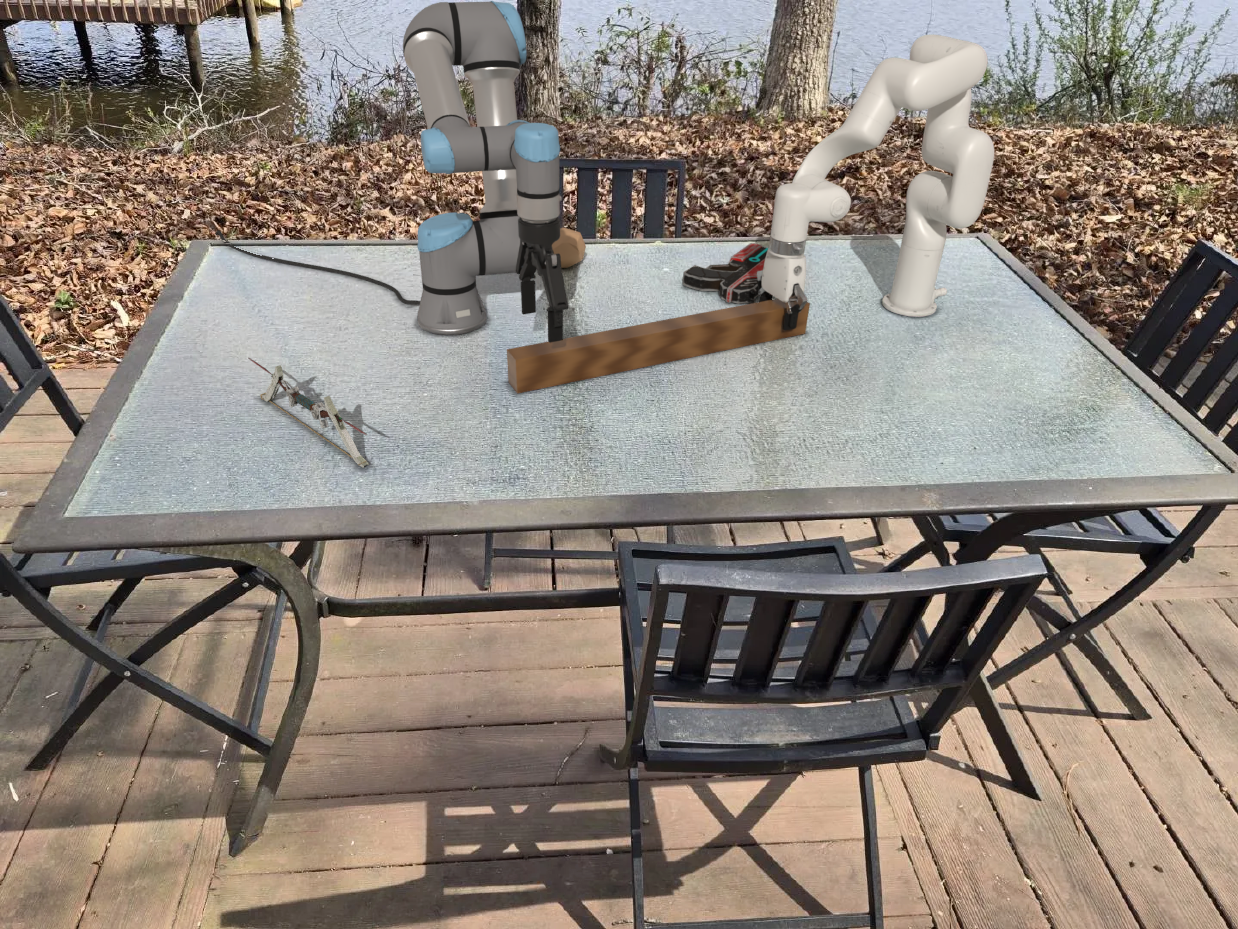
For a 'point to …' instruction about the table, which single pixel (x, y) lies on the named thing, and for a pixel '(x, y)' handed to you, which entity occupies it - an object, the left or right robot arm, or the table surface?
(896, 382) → the table surface
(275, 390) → the bow
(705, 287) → the gun
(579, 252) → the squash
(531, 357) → the post
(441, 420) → the table surface
